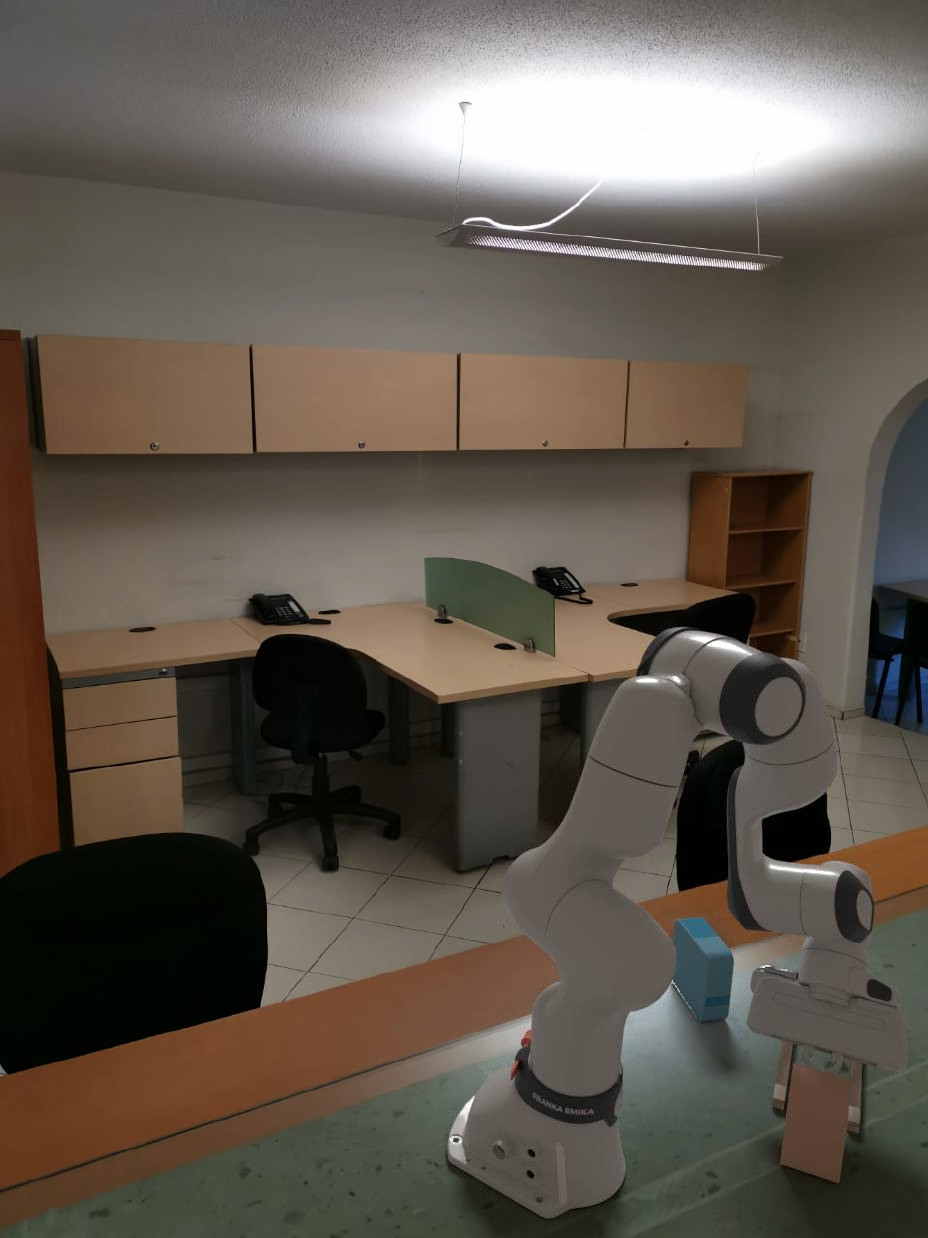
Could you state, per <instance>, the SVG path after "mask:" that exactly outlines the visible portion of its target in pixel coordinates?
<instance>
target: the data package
mask: <svg viewBox="0 0 928 1238" xmlns="http://www.w3.org/2000/svg"><path fill="white" fill-rule="evenodd" d="M673 928H674V929H673V938H672V939H673V940H672V941H673V943H674V946H675V949H676V968H675V973H674V976H673V979H672V980H673V982H674V983H675V985H676V986H677V988H678V989H679V991H680V993H681V994H682V996H683V997H684V999H685V1001H686V1002H687V1003H688V1005H689V1006H690V1007H691V1009H692V1011H693V1012H694V1014H695V1016H696V1017H697V1019H698V1020H697V1019H696V1020H697V1021H698V1022H699V1023H704V1022H712V1021H721V1020H726V1019H728V1017H729V1014H730V1013H729V1012H730V1003H731V996H732V995H731V992H732V985H733V975H734V965H735V961H734V960H735V959H734V955H733V952H732V951H731V949H730V948H729V947H728V946H727V944H726V942H724V940H723V939H721V937H720V936H719V935H718V933H717V932H716V931H715V930H714V929H713V928H712V926H711V925H710V924H709V923H708V922H707V920H706V919H705V918H703V917H701V916H700V917H698V916H697V917H688V918H679V919H675V922H674V927H673ZM685 1001H684V1002H685ZM692 1011H691V1012H692ZM694 1014H693V1015H694ZM695 1016H694V1017H695ZM696 1017H695V1018H696Z"/></svg>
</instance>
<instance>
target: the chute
mask: <svg viewBox="0 0 928 1238" xmlns="http://www.w3.org/2000/svg"><path fill="white" fill-rule="evenodd" d="M781 1042H782V1043H781V1047H780V1054H779V1060H778V1066H777V1072H776V1076H775V1077H776V1078H775V1079H776V1080H775V1084H774V1092H773V1097H772V1102H771V1103H772V1104H771V1107H772V1108H775V1109H778V1110H781V1111H784V1109H785V1102H786V1097H787V1096H786V1095H787V1089H788V1081H789V1075H790V1068H791V1063H792V1054H793V1050H794V1049H793V1048H794V1044H793V1043H789V1042H786V1041H782V1040H781ZM848 1075H849V1076H848V1077H849V1078H848V1079H850V1096H849V1114H848V1126H847V1132H848V1131H849V1132H852V1133H855V1134H859V1132H860V1125H861V1106H862V1105H861V1104H862V1081H863V1079H862V1078H863V1077H862V1075H863V1063H860V1062H856V1061H853V1060H849V1074H848Z"/></svg>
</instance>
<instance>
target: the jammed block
mask: <svg viewBox="0 0 928 1238" xmlns="http://www.w3.org/2000/svg"><path fill="white" fill-rule="evenodd" d="M813 1068H814V1067H813ZM813 1068H809V1067H806V1065H802V1064H800V1063H799V1064H798V1063H796V1062H793V1063H792V1071H791V1078H790V1084H789V1091H788V1096H787V1097H788V1099H787V1105H786V1106H787V1107H786V1115H785V1123H784V1130H783V1138H782V1145H781V1152H780V1153H781V1154H780V1159H779V1160H780V1161H779V1164H780V1165H783V1166H785V1167H789V1168H791V1169H794V1170H797V1171H800V1172H803V1173H805V1174H810V1175H813V1176H815V1177H819V1178H820V1179H821V1178H822V1179H824V1180H826V1181H827V1180H828V1181H830V1182H834V1183H837V1184H840V1179H841V1173H842V1167H843V1166H842V1165H843V1160H844V1159H843V1158H844V1152H845V1147H846V1146H845V1145H846V1138H847V1132H848V1130H847V1126H848V1114H849V1096H850V1079H849V1078H847V1077H843V1076H839V1075H836V1074H835V1075H833V1074H830V1073H828V1072H826V1071H823V1070H818V1069H815V1068H814V1069H813Z"/></svg>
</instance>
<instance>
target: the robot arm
mask: <svg viewBox="0 0 928 1238" xmlns="http://www.w3.org/2000/svg"><path fill="white" fill-rule="evenodd" d="M817 681H818V680H817V679H816V677H815V675H814V674H813V671H812V670H811V669H810V668H809V667H808V666H807V665H805V664H804V663H803V662H800V661H799V660H796V659H793V658H790V657H789V658H787V657H779V656H777V655H775V654H773V653H769V652H763V651H762V650H761V651H760V650H759V649H757V648H755V647H752V646H750V645H748V644H745V643H743V642H741V641H740V640H738V639H736V638H734V637H729V636H726V635H722V634H720V633H719V634H718V633H713V632H709V631H704V630H702V629H700V628H697V627H689V626H680V627H671V628H667V629H665V630H663V631H662V632H660V633H659V634H658V635H656V636H655V637H654V638H653V640H651V641H650V643H649V644H648V646H647V648H646V649H645V651H644V652H643V654H642V657H641V659H640V662H639V665H638V666H637V668H636V673H635V676H632V677H629V678H628V679H626V680H625V681H623V682H622V683H621V684H620V685H619V686H618V688H617V690H616V691H615V692H614V695H613V696H612V698H611V700H610V701H609V704H608V705H607V707H606V709H605V711H604V713H603V716H602V718H601V720H600V723H599V724H598V727H597V729H596V731H595V733H594V734H595V735H594V736H593V739H592V742H591V745H590V747H589V750H588V754H587V757H586V760H585V763H584V766H583V769H582V772H581V775H580V778H579V779H578V780H579V781H578V783H577V787H576V789H575V791H574V795H573V797H572V800H571V803H570V805H569V808H568V810H567V812H566V814H565V816H564V818H563V820H562V822H561V823H560V825H559V826H558V827H557V829H556V830H555V832H554V833H553V834H552V835H551V836H550V837H549V838H548V840H546V842H544V843H543V844H541V845H540V846H538V847H535V848H531V849H529V850H526V851H524V852H523V853H522V854H520V855H519V856H518V857H516V859H515V860H514V861H513V862H512V863H511V865H510V866H509V867H508V868H507V869H508V870H507V871H506V873H505V875H504V878H503V881H502V885H501V896H502V903H503V904H504V906H505V908H506V910H507V911H508V913H509V914H510V916H511V918H512V920H514V922H515V924H516V925H517V926H518V928H519V930H521V932H522V933H523V934H524V935H526V936H527V938H529V939H530V940H531V941H532V942H533V943H535V945H536V946H538V947H539V948H540V949H541V950H542V951H543V952H544V953H546V954H547V955H548V956H549V957H550V958H551V960H553V962H554V963H555V966H556V967H557V971H558V974H559V981H557V982H554V983H552V984H550V985H549V986H547V987H546V988H545V989H544V990H543V991H542V992H541V993H540V994H539V995H538V996H537V997H536V998H535V1001H534V1002H533V1006H532V1009H531V1010H532V1011H531V1027H530V1029H528V1030H527V1031H526V1032H525V1033H524V1035H523V1038H522V1039H521V1041H520V1045H521V1048H520V1049H519V1050H518V1051H517V1053H516V1054H515V1058H514V1064H513V1065H509V1066H506V1067H501V1068H499V1069H497V1070H495V1071H493V1072H492V1074H490V1075H489V1076H488V1077H487V1078H486V1079H485V1081H484V1082H483V1083H482V1085H481V1086H480V1087H479V1089H478V1091H476V1093H475V1094H474V1095H473V1096H472V1097H470V1098H469V1100H468V1101H466V1103H465V1104H464V1105H463V1107H462V1108H461V1109H460V1111H459V1112H458V1114H457V1116H456V1118H455V1119H454V1121H453V1123H452V1125H451V1128H450V1132H449V1135H448V1139H447V1145H446V1146H447V1147H446V1148H447V1149H446V1152H447V1153H446V1154H447V1158H448V1161H449V1162H450V1163H451V1164H452V1165H454V1166H456V1167H457V1168H459V1169H460V1170H462V1171H463V1172H465V1173H467V1174H469V1175H471V1177H473V1178H475V1179H477V1180H479V1181H481V1182H482V1183H484V1184H486V1185H487V1186H488V1187H491V1188H493V1190H496V1191H497V1192H500V1193H501V1194H502V1195H504V1196H506V1197H507V1198H510V1199H511V1200H513V1201H514V1202H516V1203H518V1204H520V1205H521V1206H523V1207H524V1208H527V1209H528V1210H530V1211H531V1212H533V1213H535V1214H537V1215H538V1216H540V1217H542V1218H545V1219H553V1218H557V1217H558V1216H560V1215H562V1214H564V1213H566V1212H568V1211H569V1210H573V1209H577V1208H586V1207H590V1206H594V1205H597V1204H600V1203H603V1202H604V1201H606V1200H608V1199H609V1198H611V1197H612V1196H613V1195H614V1194H615V1193H617V1191H618V1190H619V1189H620V1187H621V1186H622V1184H623V1183H624V1180H625V1176H626V1172H627V1171H626V1170H627V1169H626V1168H627V1165H626V1164H627V1163H626V1159H625V1155H624V1152H623V1147H622V1141H621V1134H620V1122H619V1116H620V1114H621V1112H622V1105H623V1096H624V1095H623V1094H624V1083H623V1080H624V1078H623V1077H624V1068H623V1064H622V1062H621V1060H622V1050H623V1049H622V1048H623V1041H624V1033H625V1032H624V1031H625V1026H626V1022H627V1019H628V1017H629V1014H630V1013H632V1012H638V1011H641V1010H643V1009H646V1008H648V1007H651V1006H652V1005H653V1004H655V1003H656V1002H657V1001H658V1000H660V999H661V998H662V997H663V995H664V994H665V993H666V992H667V991H668V989H669V987H670V986H671V984H672V979H673V976H674V973H675V968H676V949H675V946H674V943H673V940H672V938H671V937H670V936H669V935H668V933H667V932H666V931H665V930H664V929H663V928H662V926H661V925H660V924H659V923H658V922H657V921H656V920H655V918H654V917H653V916H652V915H651V914H650V912H648V911H647V910H646V909H645V908H643V907H642V906H641V905H639V904H638V903H636V902H635V901H633V900H631V899H630V898H629V897H627V896H626V895H625V894H623V893H622V892H620V891H619V890H618V889H616V888H615V887H614V880H615V877H616V875H617V872H618V871H619V869H620V867H621V866H622V864H623V863H624V862H625V860H627V859H633V858H639V857H643V856H645V855H648V854H650V853H652V852H653V851H654V850H656V849H657V848H658V846H659V845H660V844H661V842H662V841H663V838H664V836H665V831H666V828H667V825H668V822H669V819H670V817H671V813H672V810H673V808H674V804H675V802H676V799H677V795H678V792H679V789H680V786H681V782H682V779H683V776H684V772H685V769H686V765H687V761H688V757H689V752H690V747H691V744H692V743H693V741H694V740H695V739H696V737H697V736H698V735H699V734H700V733H701V731H703V730H704V729H707V730H709V731H713V732H715V733H718V734H720V735H724V736H728V737H731V738H732V739H733V740H735V741H737V742H740V743H742V746H743V750H744V764H743V765H741V766H739V767H737V768H735V770H733V773H732V774H731V777H730V779H729V783H728V787H727V794H726V796H727V797H726V833H727V856H728V858H727V859H728V868H727V869H728V872H727V873H728V876H727V885H726V886H727V887H726V904H727V905H726V906H727V909H728V910H729V912H730V914H731V916H733V917H734V919H735V920H736V921H737V922H738V924H739V925H740V926H741V927H742V928H744V929H745V930H747V931H754V932H755V931H756V932H771V933H772V932H777V933H782V934H787V935H788V934H789V935H794V936H801V937H805V939H804V943H803V945H802V947H801V951H800V955H799V956H800V957H799V965H798V971H794V970H790V969H786V968H778V967H775V966H773V965H771V964H765V965H764V966H760V967H759V966H758V967H757V968H755V969H754V970H753V971H752V974H751V977H750V983H749V984H750V991H751V992H752V996H751V997H752V998H751V1000H750V1002H749V1003H750V1004H749V1007H748V1013H747V1015H746V1017H747V1018H746V1025H747V1026H748V1029H750V1031H751V1032H752V1033H754V1034H758V1035H762V1036H765V1037H767V1038H772V1039H775V1040H779V1041H781V1042H782V1041H786V1042H789V1043H793V1045H796V1046H800V1047H802V1051H801V1055H802V1058H803V1062H804V1064H805V1066H806V1067H809V1068H813V1069H815V1068H814V1065H813V1063H812V1060H811V1058H813V1057H814V1052H815V1051H818V1052H821V1053H825V1054H829V1055H831V1059H830V1062H831V1064H833V1066H832V1067H831V1068H830V1069H829V1071H828V1072H827V1073H830V1074H833V1075H836V1074H837V1073H838V1072H839V1071H840V1070H841V1068H842V1067H843V1064H844V1063H843V1062H844V1059H846V1060H849V1061H850V1060H853V1061H856V1062H860V1063H862V1065H863V1064H864V1065H867V1066H870V1067H875V1068H878V1069H881V1070H886V1071H889V1072H891V1073H896V1074H898V1073H900V1072H903V1070H905V1069H906V1067H907V1065H908V1057H909V1055H908V1053H909V1052H908V1050H909V1047H908V1046H909V1045H908V1032H907V1031H908V1030H907V1024H906V1020H905V1018H904V1015H903V1014H902V1012H901V1011H900V1009H901V1006H902V1005H901V1004H902V994H901V992H900V991H899V990H898V989H897V988H895V987H894V986H892V985H889V984H888V983H886V982H884V981H883V980H881V979H879V978H878V977H875V976H874V975H872V974H871V973H869V960H868V952H867V951H868V947H869V944H870V941H871V939H872V936H873V935H872V934H873V925H874V917H875V915H874V914H875V903H874V898H873V897H874V894H873V883H872V878H871V877H870V875H869V874H868V873H867V872H866V871H865V870H864V869H862V868H861V867H859V866H857V865H855V864H853V863H850V862H846V861H840V860H829V861H825V862H822V863H821V864H819V865H818V864H806V863H798V862H788V861H782V860H776V859H774V858H773V859H772V858H770V857H769V856H766V855H765V854H764V853H763V826H762V825H763V822H762V821H763V819H765V818H768V817H770V816H772V815H776V814H779V813H780V814H781V813H784V812H789V811H794V810H798V809H801V808H804V807H806V806H808V805H810V804H811V803H813V802H815V801H816V800H818V799H820V798H821V796H823V795H824V794H825V793H826V792H827V791H828V790H829V788H830V787H831V786H832V784H833V783H834V780H835V779H836V776H837V772H838V752H837V751H838V750H837V745H836V739H835V735H834V730H833V724H832V721H831V716H830V713H829V709H828V706H827V704H826V700H825V698H824V696H823V692H822V690H821V688H820V685H819V683H818V682H817Z"/></svg>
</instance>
